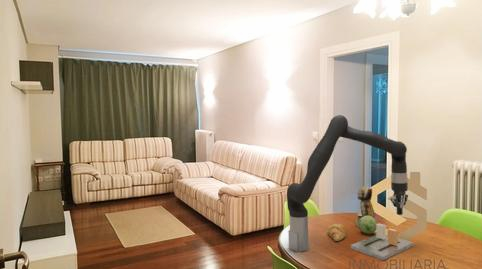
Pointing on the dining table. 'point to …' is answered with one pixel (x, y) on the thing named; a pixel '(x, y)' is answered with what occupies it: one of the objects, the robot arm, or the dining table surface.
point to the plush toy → (365, 204)
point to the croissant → (336, 231)
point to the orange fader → (392, 236)
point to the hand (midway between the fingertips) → (399, 214)
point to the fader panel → (380, 247)
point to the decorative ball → (367, 224)
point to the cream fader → (381, 231)
